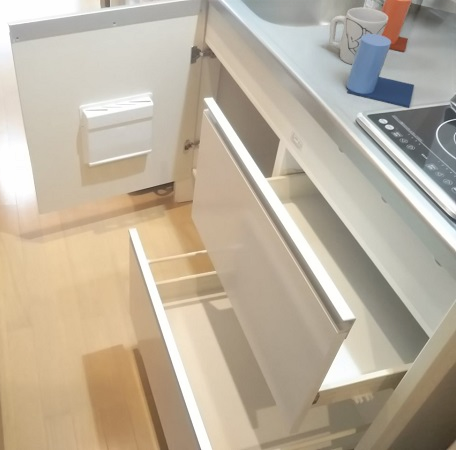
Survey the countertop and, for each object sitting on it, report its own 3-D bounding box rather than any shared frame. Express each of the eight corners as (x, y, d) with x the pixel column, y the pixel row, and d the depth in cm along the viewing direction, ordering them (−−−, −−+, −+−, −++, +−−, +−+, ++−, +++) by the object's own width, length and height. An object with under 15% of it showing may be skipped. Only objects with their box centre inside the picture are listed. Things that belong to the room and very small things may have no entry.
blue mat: (413, 86, 108) (414, 84, 108) (409, 107, 101) (409, 106, 101) (355, 73, 111) (355, 71, 111) (347, 93, 105) (347, 91, 104)
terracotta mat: (407, 39, 126) (408, 38, 126) (404, 52, 120) (404, 50, 120) (365, 31, 129) (366, 29, 129) (360, 43, 123) (361, 41, 123)
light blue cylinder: (376, 84, 107) (392, 37, 100) (372, 96, 103) (389, 48, 96) (348, 78, 109) (363, 31, 102) (343, 89, 105) (358, 41, 98)
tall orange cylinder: (398, 38, 126) (413, -5, 119) (395, 46, 122) (411, 2, 115) (374, 33, 127) (388, -10, 120) (371, 41, 123) (385, -2, 117)
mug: (316, 56, 117) (327, 11, 110) (331, 44, 122) (343, 0, 115) (365, 71, 112) (380, 25, 105) (378, 58, 117) (394, 14, 110)
